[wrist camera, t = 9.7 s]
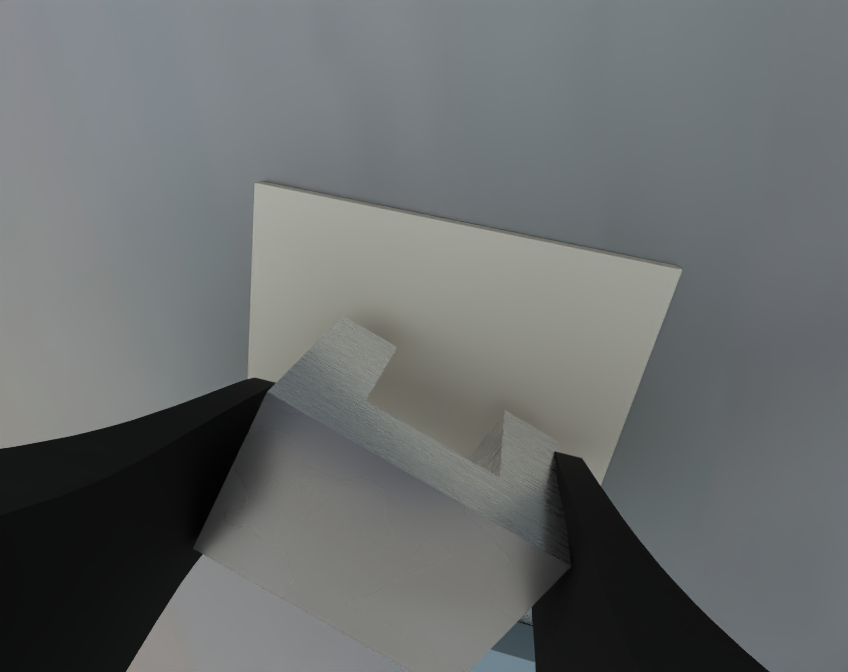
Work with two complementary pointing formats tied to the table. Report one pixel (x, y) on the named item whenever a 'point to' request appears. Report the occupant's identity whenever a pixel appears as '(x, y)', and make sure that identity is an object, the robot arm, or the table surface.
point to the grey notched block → (388, 514)
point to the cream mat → (459, 317)
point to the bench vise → (510, 652)
